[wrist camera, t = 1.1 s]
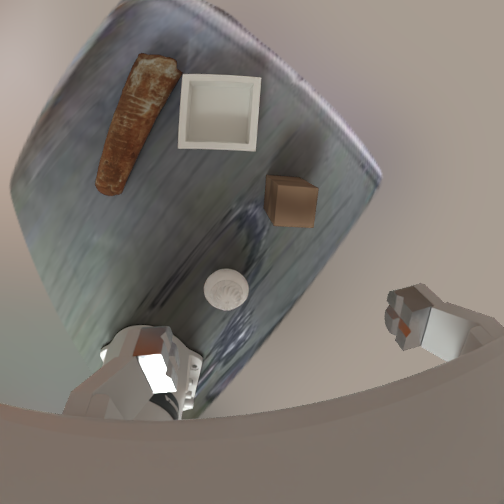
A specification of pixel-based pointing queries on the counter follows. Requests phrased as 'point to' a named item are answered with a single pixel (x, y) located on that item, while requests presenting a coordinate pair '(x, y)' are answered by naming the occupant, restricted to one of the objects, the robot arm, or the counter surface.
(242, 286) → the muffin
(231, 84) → the bin
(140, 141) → the bread
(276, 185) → the walnut block
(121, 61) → the counter surface
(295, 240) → the counter surface
